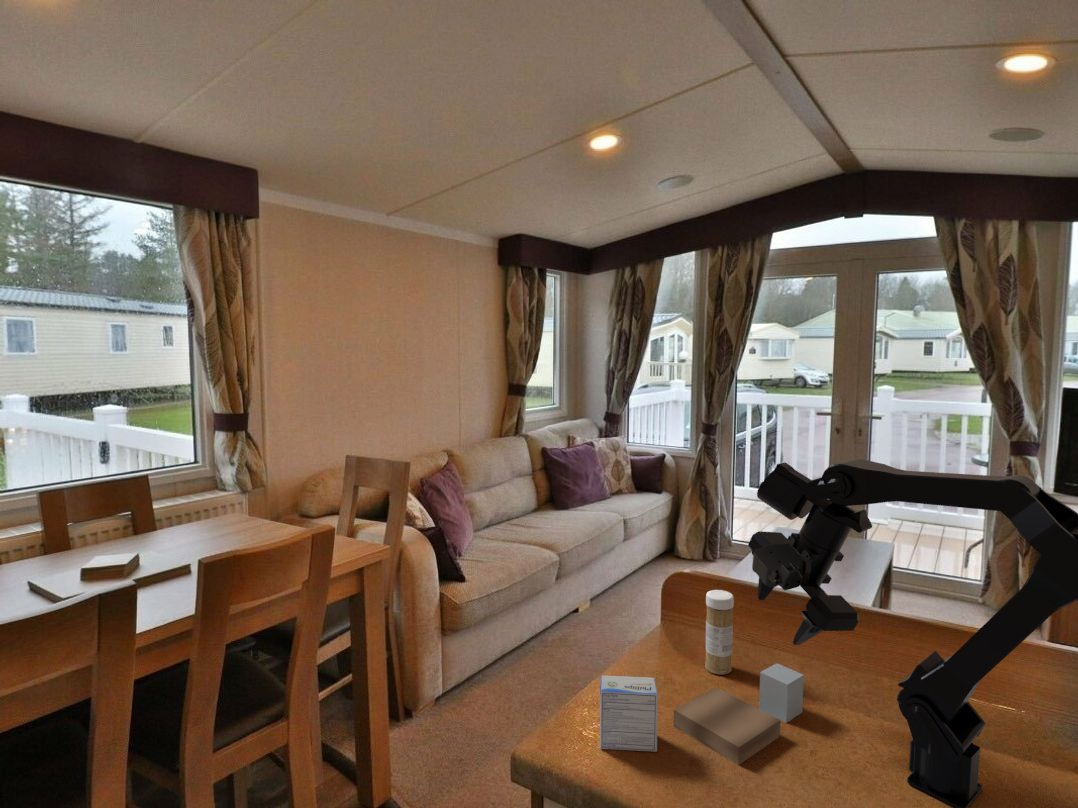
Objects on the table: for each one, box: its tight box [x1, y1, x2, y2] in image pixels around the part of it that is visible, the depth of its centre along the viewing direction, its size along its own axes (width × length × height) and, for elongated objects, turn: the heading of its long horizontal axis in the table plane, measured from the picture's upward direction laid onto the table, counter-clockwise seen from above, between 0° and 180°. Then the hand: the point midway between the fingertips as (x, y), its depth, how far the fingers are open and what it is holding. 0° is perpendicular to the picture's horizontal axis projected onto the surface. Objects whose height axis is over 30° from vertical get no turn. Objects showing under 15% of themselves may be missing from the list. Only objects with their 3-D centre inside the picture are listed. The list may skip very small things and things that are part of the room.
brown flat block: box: [673, 686, 781, 766], centre depth 91 cm, size 11×10×3 cm
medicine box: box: [599, 675, 659, 753], centre depth 88 cm, size 8×4×9 cm, turn 84°
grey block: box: [758, 663, 805, 724], centre depth 96 cm, size 4×4×6 cm
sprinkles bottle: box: [704, 589, 735, 676], centre depth 108 cm, size 5×5×14 cm
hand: (777, 620), depth 96 cm, fingers open, 9 cm apart
